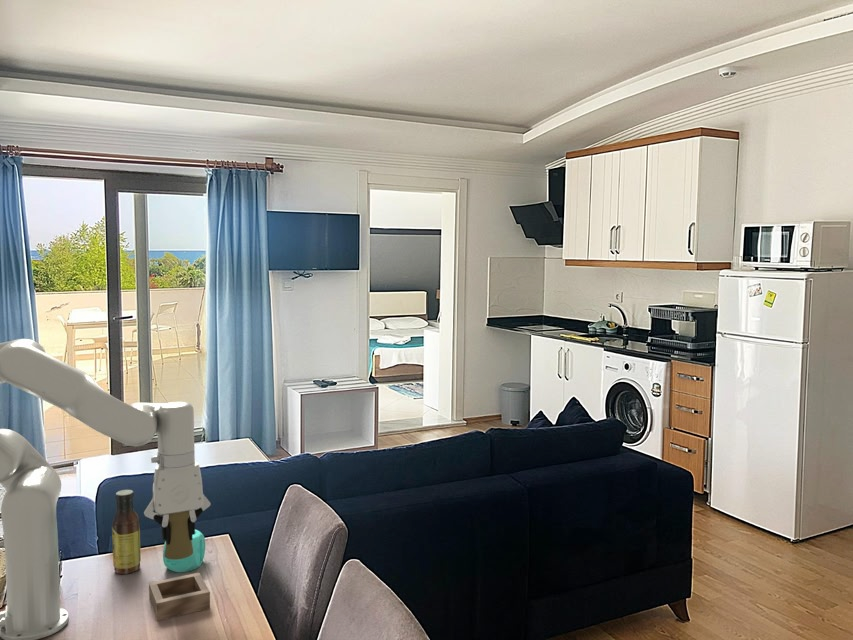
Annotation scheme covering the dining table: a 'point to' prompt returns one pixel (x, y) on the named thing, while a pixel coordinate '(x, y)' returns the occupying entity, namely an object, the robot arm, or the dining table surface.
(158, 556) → the dining table surface
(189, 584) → the shaker holder
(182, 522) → the cork
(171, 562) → the decorative dice
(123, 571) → the sauce bottle
